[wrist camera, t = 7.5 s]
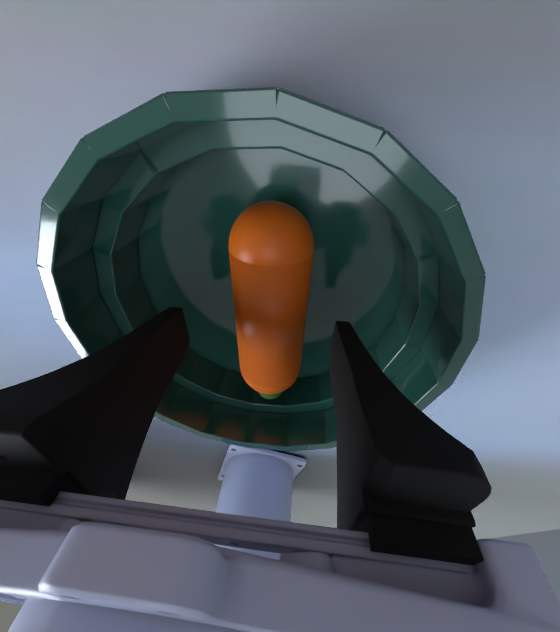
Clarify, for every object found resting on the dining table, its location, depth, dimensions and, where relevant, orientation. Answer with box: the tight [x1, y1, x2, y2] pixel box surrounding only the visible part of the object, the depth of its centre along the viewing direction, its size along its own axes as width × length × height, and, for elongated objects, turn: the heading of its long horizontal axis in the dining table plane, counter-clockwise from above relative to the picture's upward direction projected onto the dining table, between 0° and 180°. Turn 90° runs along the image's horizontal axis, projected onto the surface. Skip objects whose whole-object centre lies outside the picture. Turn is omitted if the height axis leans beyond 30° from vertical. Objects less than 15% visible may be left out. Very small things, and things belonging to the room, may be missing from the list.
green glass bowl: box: [37, 87, 485, 451], centre depth 13 cm, size 17×17×5 cm
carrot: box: [229, 201, 314, 399], centre depth 14 cm, size 12×4×4 cm, turn 178°
